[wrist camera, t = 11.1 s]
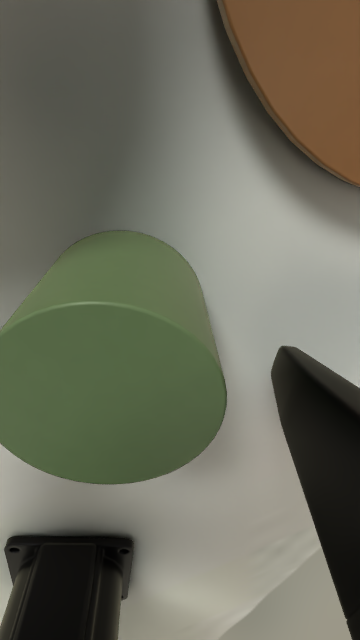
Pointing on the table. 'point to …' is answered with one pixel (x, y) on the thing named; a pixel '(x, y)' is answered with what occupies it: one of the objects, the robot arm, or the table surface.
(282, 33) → the wooden lid
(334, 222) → the table surface
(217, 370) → the candle
